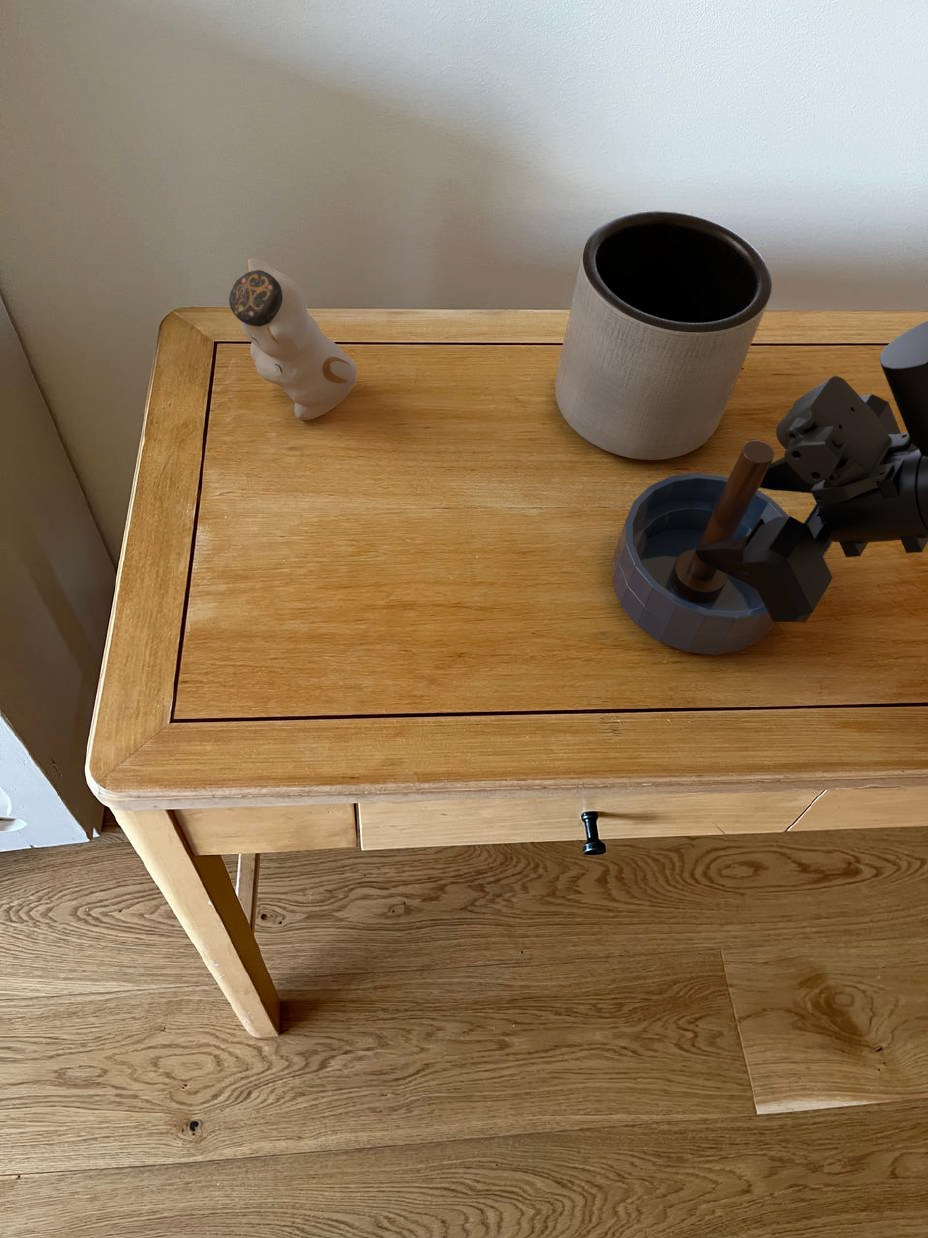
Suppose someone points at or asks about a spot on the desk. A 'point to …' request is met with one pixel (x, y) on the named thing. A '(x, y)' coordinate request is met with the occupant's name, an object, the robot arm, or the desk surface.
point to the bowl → (651, 548)
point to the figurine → (290, 341)
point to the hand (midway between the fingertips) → (726, 516)
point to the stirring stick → (722, 524)
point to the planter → (658, 332)
